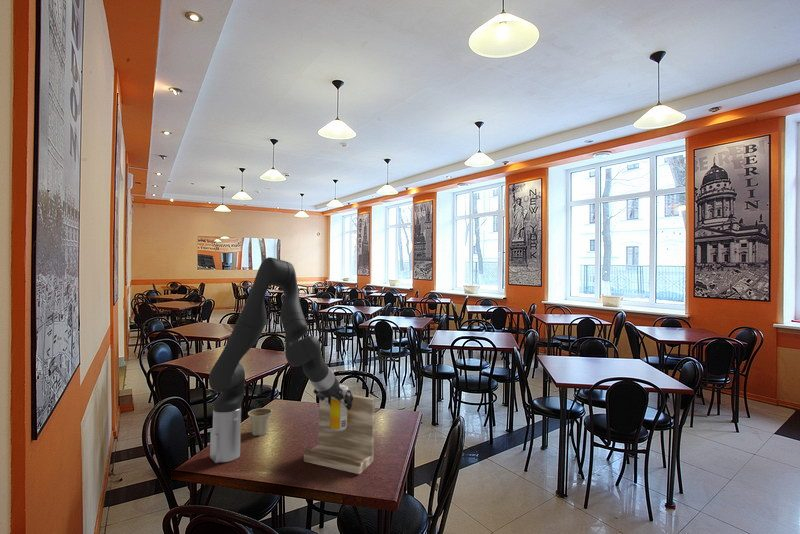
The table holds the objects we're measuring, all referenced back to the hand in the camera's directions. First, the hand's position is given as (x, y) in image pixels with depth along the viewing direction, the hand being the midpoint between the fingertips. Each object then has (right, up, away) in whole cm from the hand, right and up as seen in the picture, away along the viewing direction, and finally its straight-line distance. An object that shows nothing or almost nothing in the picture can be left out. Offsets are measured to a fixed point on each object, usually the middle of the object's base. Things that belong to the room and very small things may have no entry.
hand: (341, 406), depth 145 cm
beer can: (-1, -7, -2) cm, 8 cm away
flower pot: (-37, -19, +22) cm, 47 cm away
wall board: (-1, -19, -1) cm, 19 cm away
